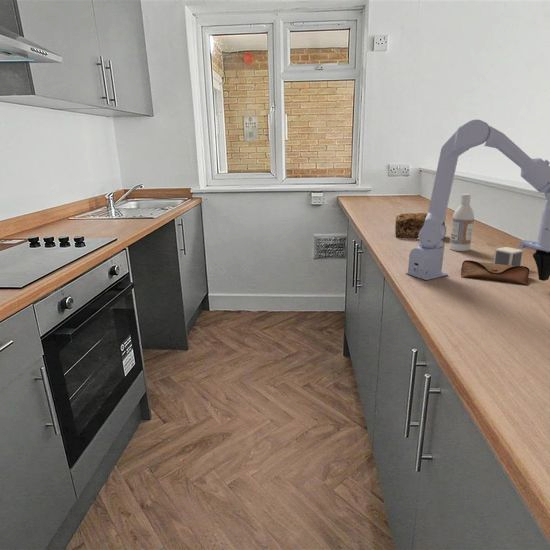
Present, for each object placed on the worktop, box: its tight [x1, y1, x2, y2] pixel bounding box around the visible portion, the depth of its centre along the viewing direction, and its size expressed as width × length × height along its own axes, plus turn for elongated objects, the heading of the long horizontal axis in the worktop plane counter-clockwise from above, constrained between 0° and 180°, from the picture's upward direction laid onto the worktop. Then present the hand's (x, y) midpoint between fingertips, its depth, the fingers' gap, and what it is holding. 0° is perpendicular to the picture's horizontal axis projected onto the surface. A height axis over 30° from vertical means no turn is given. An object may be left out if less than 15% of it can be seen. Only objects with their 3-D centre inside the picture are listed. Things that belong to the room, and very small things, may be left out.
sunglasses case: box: [460, 259, 530, 286], centre depth 118 cm, size 18×7×7 cm
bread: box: [394, 212, 428, 239], centre depth 170 cm, size 19×11×10 cm, turn 69°
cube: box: [493, 246, 524, 266], centre depth 128 cm, size 6×6×6 cm
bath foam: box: [448, 193, 475, 252], centre depth 147 cm, size 7×7×20 cm
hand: (543, 279), depth 108 cm, fingers closed
